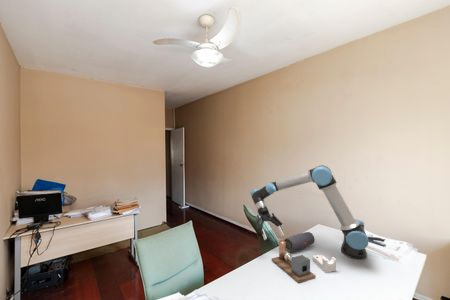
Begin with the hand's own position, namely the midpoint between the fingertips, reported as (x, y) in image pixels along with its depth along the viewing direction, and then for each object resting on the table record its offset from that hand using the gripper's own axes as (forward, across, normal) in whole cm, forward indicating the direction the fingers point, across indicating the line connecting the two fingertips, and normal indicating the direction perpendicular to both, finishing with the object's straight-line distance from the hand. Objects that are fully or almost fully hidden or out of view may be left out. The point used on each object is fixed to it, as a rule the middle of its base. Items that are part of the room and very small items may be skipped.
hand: (274, 237), depth 139 cm
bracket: (+24, -21, +6) cm, 32 cm away
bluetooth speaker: (+8, -23, -10) cm, 26 cm away
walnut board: (+20, -1, +2) cm, 20 cm away
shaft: (+17, -1, +3) cm, 17 cm away
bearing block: (+24, -1, +9) cm, 26 cm away
